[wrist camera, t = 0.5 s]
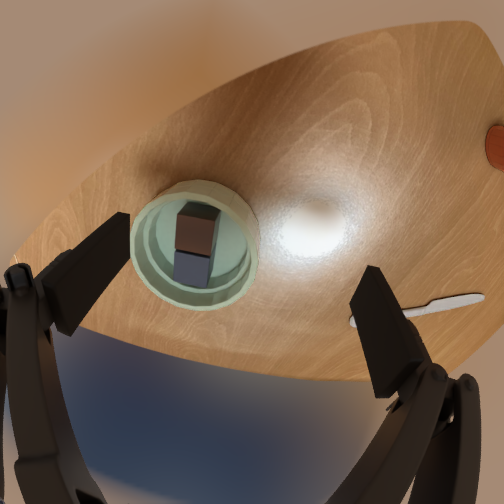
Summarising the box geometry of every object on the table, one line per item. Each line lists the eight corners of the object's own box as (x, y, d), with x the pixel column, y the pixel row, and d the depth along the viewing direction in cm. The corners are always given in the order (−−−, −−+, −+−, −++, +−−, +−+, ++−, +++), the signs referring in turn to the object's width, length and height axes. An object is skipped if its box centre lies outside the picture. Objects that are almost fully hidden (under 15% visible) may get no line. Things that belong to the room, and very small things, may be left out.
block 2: (184, 235, 28) (174, 251, 25) (216, 241, 28) (210, 258, 25) (182, 263, 30) (172, 281, 27) (212, 270, 30) (206, 288, 27)
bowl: (151, 170, 25) (129, 183, 21) (271, 191, 26) (271, 208, 21) (148, 270, 31) (132, 295, 27) (248, 292, 32) (244, 321, 27)
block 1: (187, 201, 26) (176, 213, 23) (221, 207, 26) (215, 221, 23) (184, 233, 28) (174, 248, 25) (217, 239, 28) (210, 256, 25)
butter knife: (351, 312, 32) (348, 329, 33) (488, 290, 29) (482, 305, 30) (350, 310, 32) (348, 327, 33) (486, 289, 29) (481, 304, 31)
